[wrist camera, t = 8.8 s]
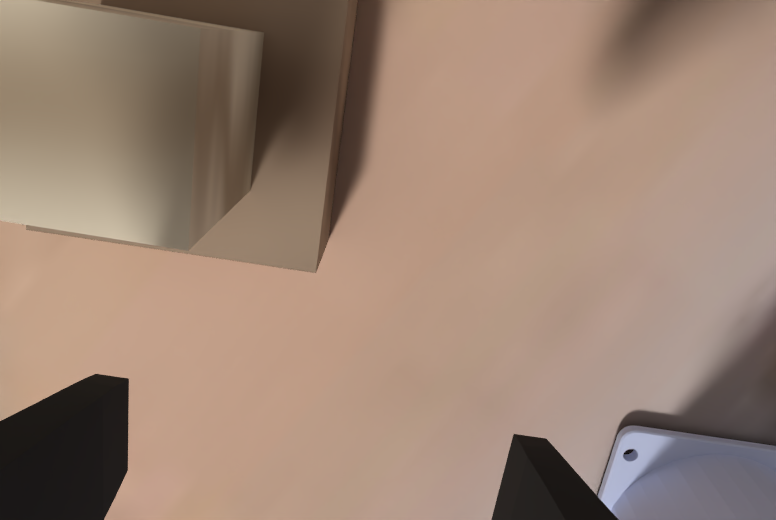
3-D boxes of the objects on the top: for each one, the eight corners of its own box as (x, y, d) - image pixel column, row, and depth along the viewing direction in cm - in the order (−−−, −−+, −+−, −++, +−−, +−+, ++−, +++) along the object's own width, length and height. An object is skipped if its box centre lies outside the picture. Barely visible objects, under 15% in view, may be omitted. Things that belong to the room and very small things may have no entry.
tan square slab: (328, 240, 20) (315, 272, 17) (80, 202, 20) (26, 229, 17) (361, -29, 17) (353, -43, 15) (75, -75, 17) (10, -99, 14)
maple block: (249, 190, 16) (188, 251, 12) (99, 166, 16) (-25, 216, 12) (264, 32, 15) (201, 28, 10) (100, 4, 15) (-40, -13, 10)
